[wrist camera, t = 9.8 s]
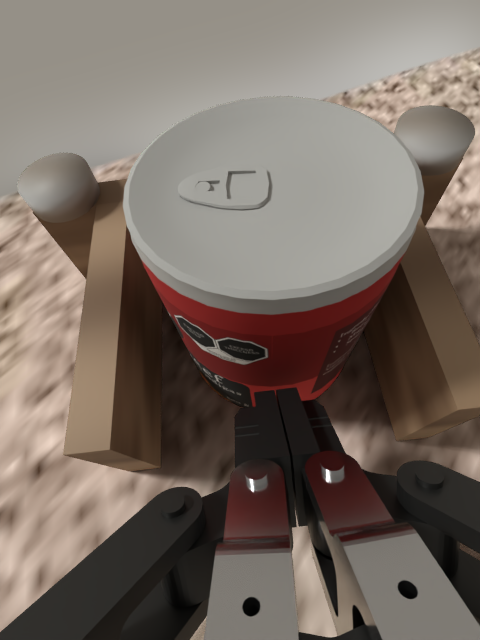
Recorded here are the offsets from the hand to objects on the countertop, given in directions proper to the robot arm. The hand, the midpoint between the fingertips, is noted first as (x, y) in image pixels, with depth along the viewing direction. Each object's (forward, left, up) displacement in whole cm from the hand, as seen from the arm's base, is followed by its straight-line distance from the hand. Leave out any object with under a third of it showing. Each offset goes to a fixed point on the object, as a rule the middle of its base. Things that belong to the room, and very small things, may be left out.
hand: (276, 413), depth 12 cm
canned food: (-1, +5, -5) cm, 7 cm away
